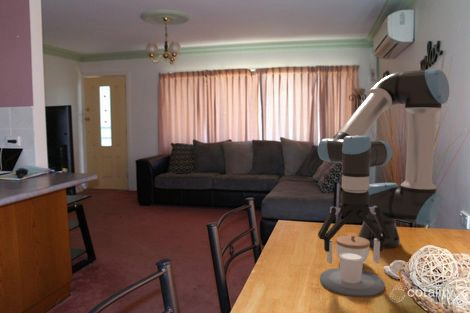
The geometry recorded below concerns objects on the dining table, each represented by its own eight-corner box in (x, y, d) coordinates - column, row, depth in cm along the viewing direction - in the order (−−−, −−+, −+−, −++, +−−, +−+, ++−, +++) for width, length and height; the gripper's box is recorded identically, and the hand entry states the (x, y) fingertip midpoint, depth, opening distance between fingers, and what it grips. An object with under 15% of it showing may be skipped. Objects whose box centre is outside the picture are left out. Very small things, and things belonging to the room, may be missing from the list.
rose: (418, 258, 124) (419, 269, 115) (417, 272, 125) (418, 284, 116) (384, 254, 128) (383, 264, 119) (383, 267, 128) (382, 278, 120)
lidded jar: (364, 271, 124) (365, 242, 123) (330, 264, 130) (331, 236, 129) (372, 261, 133) (373, 234, 132) (340, 255, 139) (341, 229, 138)
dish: (371, 271, 125) (371, 267, 124) (394, 296, 107) (395, 293, 107) (314, 270, 124) (314, 267, 124) (328, 296, 106) (328, 292, 106)
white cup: (364, 285, 111) (365, 261, 111) (339, 283, 113) (340, 259, 112) (361, 275, 118) (362, 252, 117) (337, 273, 119) (338, 251, 119)
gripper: (393, 187, 117) (390, 257, 119) (308, 187, 116) (307, 257, 119) (404, 192, 109) (401, 266, 112) (314, 192, 109) (312, 267, 111)
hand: (352, 262), depth 115 cm, fingers open, 13 cm apart
